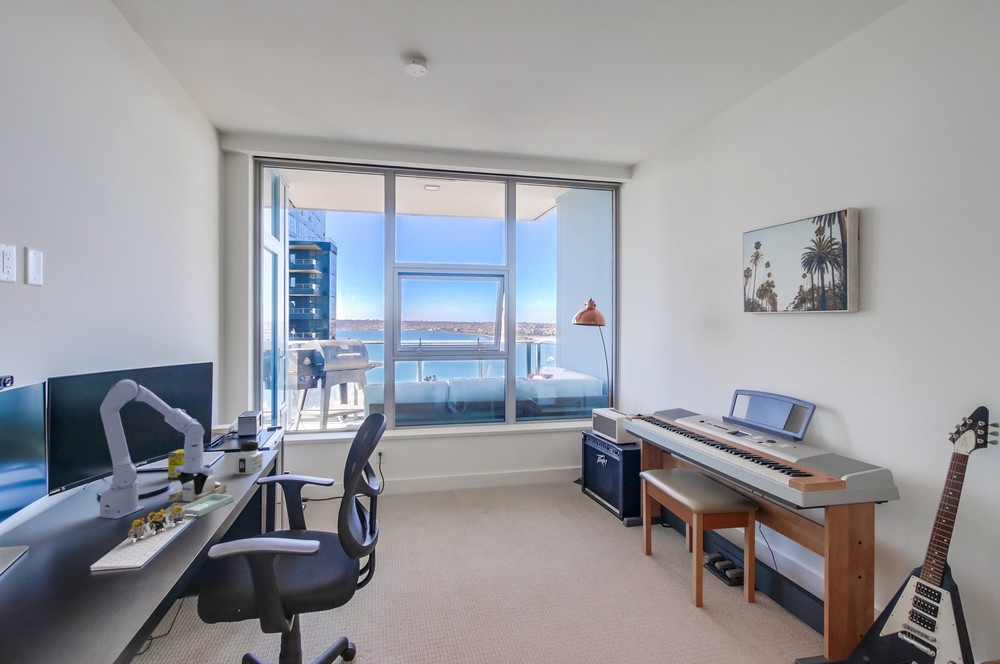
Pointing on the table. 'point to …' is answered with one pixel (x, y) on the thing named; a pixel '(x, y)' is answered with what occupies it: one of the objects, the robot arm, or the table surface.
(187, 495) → the white rectangular brick
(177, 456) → the supplement box
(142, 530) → the figurine set
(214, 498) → the tray
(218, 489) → the oak bay
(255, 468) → the container
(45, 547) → the table surface
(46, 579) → the table surface
